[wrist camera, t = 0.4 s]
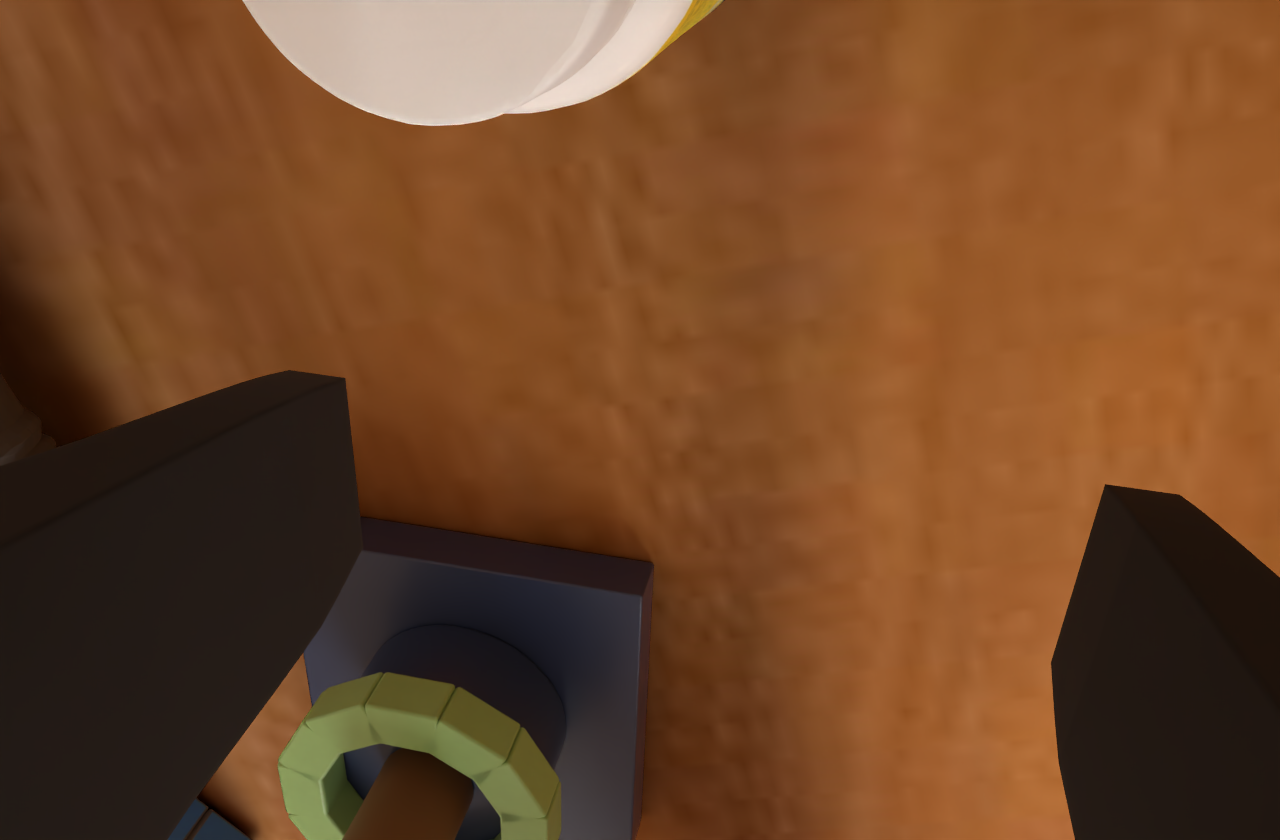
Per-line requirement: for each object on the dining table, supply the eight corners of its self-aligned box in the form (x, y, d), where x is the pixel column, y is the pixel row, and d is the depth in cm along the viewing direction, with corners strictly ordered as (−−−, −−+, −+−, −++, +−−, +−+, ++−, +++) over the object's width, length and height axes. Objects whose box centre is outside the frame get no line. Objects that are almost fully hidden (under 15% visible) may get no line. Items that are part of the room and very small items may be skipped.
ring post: (641, 817, 26) (574, 1074, 21) (346, 758, 28) (210, 985, 22) (654, 562, 22) (575, 794, 17) (310, 507, 24) (133, 706, 18)
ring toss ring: (562, 897, 23) (549, 937, 22) (319, 844, 24) (297, 881, 23) (561, 702, 20) (546, 740, 19) (286, 651, 21) (259, 685, 20)
